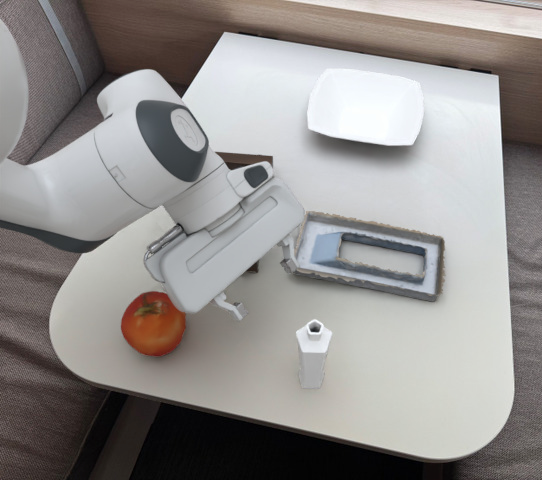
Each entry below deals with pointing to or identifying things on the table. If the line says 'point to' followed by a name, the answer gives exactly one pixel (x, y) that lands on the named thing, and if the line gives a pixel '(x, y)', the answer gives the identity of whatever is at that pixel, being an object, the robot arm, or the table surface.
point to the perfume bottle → (312, 353)
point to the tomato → (153, 324)
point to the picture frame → (328, 266)
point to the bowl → (366, 107)
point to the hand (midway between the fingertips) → (268, 293)
